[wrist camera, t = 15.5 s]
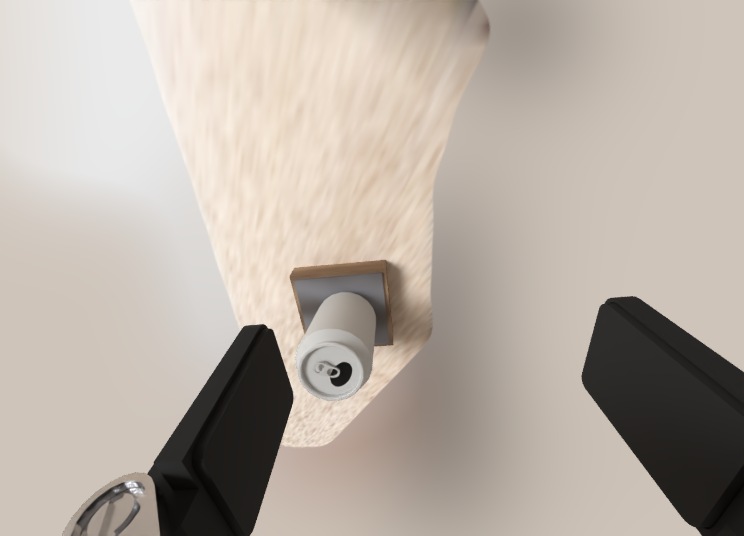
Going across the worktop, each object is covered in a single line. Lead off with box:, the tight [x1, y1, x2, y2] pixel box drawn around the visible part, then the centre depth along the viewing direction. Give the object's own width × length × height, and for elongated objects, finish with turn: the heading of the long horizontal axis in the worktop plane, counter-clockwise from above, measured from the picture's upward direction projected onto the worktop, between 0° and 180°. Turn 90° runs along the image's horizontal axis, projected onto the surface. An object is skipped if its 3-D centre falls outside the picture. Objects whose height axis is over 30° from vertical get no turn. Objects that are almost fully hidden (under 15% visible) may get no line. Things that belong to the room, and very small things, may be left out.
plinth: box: [290, 260, 393, 346], centre depth 41 cm, size 12×12×3 cm
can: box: [295, 292, 376, 401], centre depth 33 cm, size 8×8×12 cm
